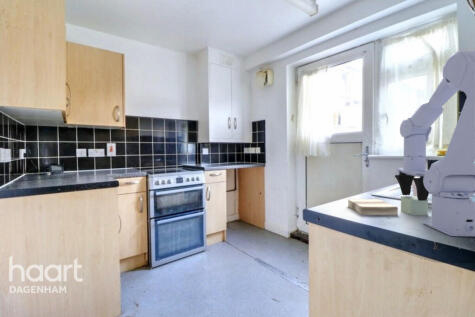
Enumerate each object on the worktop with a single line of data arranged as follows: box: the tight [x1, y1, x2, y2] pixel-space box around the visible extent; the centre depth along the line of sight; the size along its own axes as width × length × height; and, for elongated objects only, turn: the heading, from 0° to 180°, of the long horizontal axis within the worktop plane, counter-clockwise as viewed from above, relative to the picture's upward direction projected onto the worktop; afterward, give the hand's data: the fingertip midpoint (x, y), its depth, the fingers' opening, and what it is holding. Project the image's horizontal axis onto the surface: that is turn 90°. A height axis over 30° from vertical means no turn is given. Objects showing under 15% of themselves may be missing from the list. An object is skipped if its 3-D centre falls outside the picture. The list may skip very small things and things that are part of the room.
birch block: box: [347, 198, 399, 216], centre depth 78 cm, size 11×11×3 cm
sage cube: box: [400, 195, 429, 216], centre depth 74 cm, size 5×5×5 cm
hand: (413, 197), depth 74 cm, fingers open, 7 cm apart
